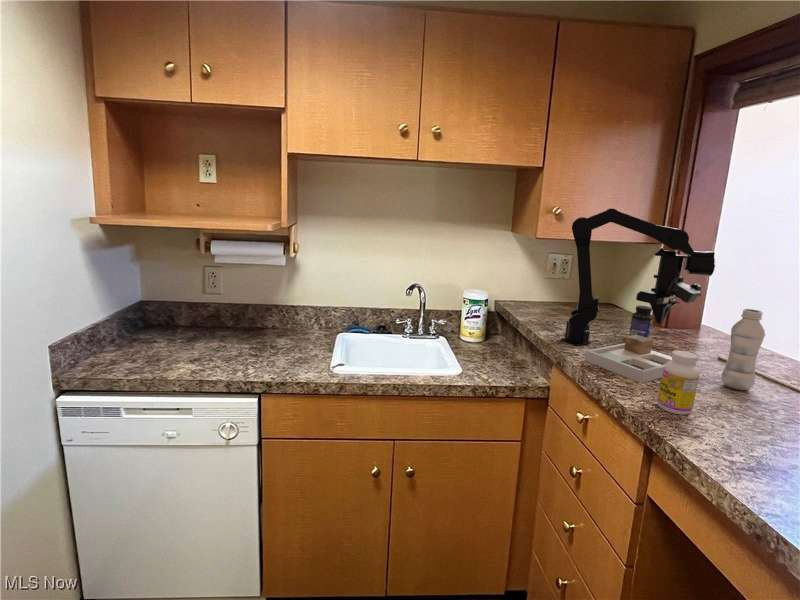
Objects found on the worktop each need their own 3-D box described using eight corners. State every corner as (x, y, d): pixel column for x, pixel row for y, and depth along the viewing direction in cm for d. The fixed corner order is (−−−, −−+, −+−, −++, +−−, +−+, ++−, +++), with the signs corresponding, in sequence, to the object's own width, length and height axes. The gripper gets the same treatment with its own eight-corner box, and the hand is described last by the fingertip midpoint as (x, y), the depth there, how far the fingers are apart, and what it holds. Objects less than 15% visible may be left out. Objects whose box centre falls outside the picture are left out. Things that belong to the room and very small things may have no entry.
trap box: (584, 360, 126) (586, 350, 125) (632, 350, 137) (634, 341, 136) (641, 383, 112) (643, 371, 111) (689, 369, 122) (692, 359, 122)
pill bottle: (651, 342, 146) (657, 310, 143) (631, 340, 147) (637, 308, 144) (645, 337, 152) (651, 305, 149) (626, 335, 153) (631, 304, 150)
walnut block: (624, 349, 131) (626, 336, 130) (634, 347, 133) (636, 334, 132) (640, 355, 127) (642, 341, 126) (650, 352, 129) (653, 339, 128)
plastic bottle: (754, 396, 107) (773, 315, 102) (719, 388, 110) (737, 310, 106) (750, 387, 112) (768, 310, 108) (718, 380, 116) (734, 306, 111)
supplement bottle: (650, 401, 101) (660, 348, 98) (677, 402, 102) (688, 348, 99) (669, 416, 94) (681, 359, 92) (698, 416, 95) (711, 359, 92)
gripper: (679, 278, 118) (668, 334, 121) (716, 275, 127) (704, 328, 130) (639, 271, 127) (630, 324, 131) (676, 269, 136) (667, 318, 140)
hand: (659, 323), depth 133 cm, fingers closed
